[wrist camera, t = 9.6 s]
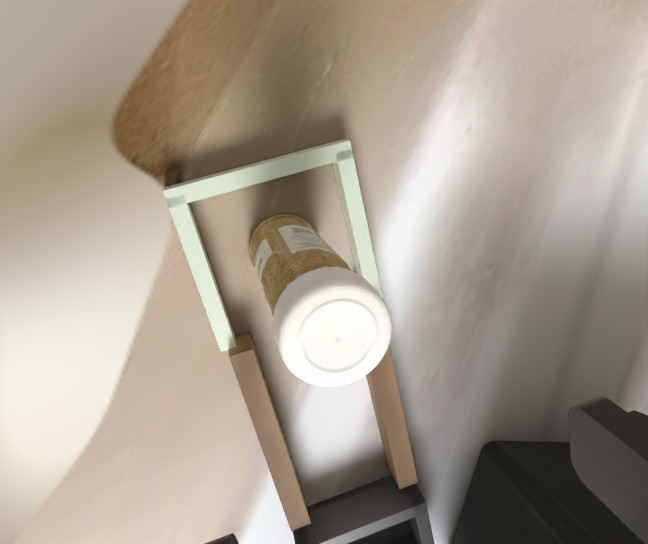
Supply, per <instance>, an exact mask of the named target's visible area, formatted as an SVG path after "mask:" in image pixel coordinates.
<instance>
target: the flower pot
mask: <svg viewBox="0 0 648 544" xmlns="http://www.w3.org/2000/svg"><path fill="white" fill-rule="evenodd" d="M453 544H645V543H644V542H643V541H642V540H641V539H639V538H638V537H637V536H636V535H635V534H634V533H633V532H632V531H631V530H630V529H629V528H628V527H627V526H626V525H625V524H624V523H623V522H622V521H621V520H620V519H619V518H618V517H617V516H616V515H615V514H614V513H613V512H612V511H611V510H610V509H609V508H608V507H607V506H606V505H605V504H604V503H603V502H602V501H601V500H600V499H599V498H598V497H597V496H596V495H595V494H594V493H593V492H592V491H591V490H590V489H589V488H588V487H587V486H586V485H585V484H584V483H583V482H582V481H581V479H580V478H579V476H578V475H577V473H576V471H575V469H574V467H573V464H572V460H571V451H570V443H563V442H516V441H492V442H490V443H488V444H487V445H486V446H485V447H484V448H483V449H482V451H481V454H480V458H479V461H478V464H477V467H476V470H475V474H474V477H473V480H472V483H471V486H470V489H469V492H468V495H467V499H466V502H465V505H464V509H463V512H462V515H461V518H460V521H459V525H458V528H457V531H456V534H455V537H454V541H453Z"/></svg>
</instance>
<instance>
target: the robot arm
mask: <svg viewBox="0 0 648 544" xmlns="http://www.w3.org/2000/svg"><path fill="white" fill-rule="evenodd" d="M568 419H569V435H570V451H571V460H572V464H573V467H574V469H575V471H576V473H577V475H578V476H579V478H580V479H581V481H582V482H583V483H584V484H585V485H586V486H587V487H588V488H589V489H590V490H591V491H592V492H593V493H594V494H595V495H596V496H597V497H598V498H599V499H600V500H601V501H602V502H603V503H604V504H605V505H606V506H607V507H608V508H609V509H610V510H611V511H612V512H613V513H614V514H615V515H616V516H617V517H618V518H619V519H620V520H621V521H622V522H623V523H624V524H625V525H626V526H627V527H628V528H629V529H630V530H631V531H632V532H633V533H634V534H635V535H636V536H637V537H638V538H639V539H641V540H642V541H643V542H644V543H645V544H648V416H647V415H645V414H642V413H639V412H637V411H631V412H629V413H627V412H626V411H624V410H623V409H622V408H620V407H619V406H617V405H616V404H615V403H613V402H612V401H610V400H609V399H607V398H604V397H598V398H595V399H593V400H590V401H587V402H585V403H582V404H580V405H577V406H574V407H572V408H570V410H569V413H568ZM205 544H238V541H237V539H236V537H235V535H234V534H233V533H232V534H229V535H227V536H224V537H221V538H219V539H216V540H213V541H211V542H208V543H205Z"/></svg>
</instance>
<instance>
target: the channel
mask: <svg viewBox="0 0 648 544" xmlns="http://www.w3.org/2000/svg"><path fill="white" fill-rule="evenodd" d="M235 340H236V347H234V348H231V349H229V357H230V360H231V363H232V366H233V369H234V371H235V374H236V377H237V380H238V383H239V385H240V388H241V391H242V394H243V397H244V399H245V402H246V405H247V408H248V411H249V413H250V416H251V419H252V422H253V425H254V428H255V430H256V433H257V436H258V439H259V442H260V444H261V447H262V450H263V453H264V456H265V458H266V461H267V464H268V467H269V470H270V472H271V475H272V478H273V481H274V484H275V487H276V489H277V492H278V495H279V498H280V501H281V503H282V506H283V509H284V512H285V515H286V517H287V520H288V523H289V526H290V529H291V531H293V530H295V529H298V528H300V527H303V526H306V525H308V524H311V522H310V518H309V514H308V510H307V506H306V502H305V498H304V495H303V492H302V489H301V486H300V483H299V480H298V477H297V474H296V471H295V468H294V465H293V462H292V459H291V456H290V452H289V449H288V446H287V443H286V440H285V437H284V434H283V431H282V428H281V425H280V422H279V419H278V416H277V413H276V410H275V407H274V404H273V401H272V398H271V395H270V392H269V389H268V386H267V383H266V380H265V377H264V374H263V371H262V368H261V365H260V362H259V359H258V356H257V353H256V350H255V347H254V344H253V341H252V337H251V334H250V332H248V333H245V334H242V335H239V336H236V337H235ZM366 376H367V381H368V385H369V389H370V393H371V397H372V402H373V406H374V410H375V414H376V418H377V423H378V427H379V431H380V435H381V439H382V444H383V448H384V452H385V456H386V460H387V465H388V468H389V470H390V472H391V473H392V475H393V477H394V479H395V481H396V483H397V485H398V487H399V489H402V488H405V487H407V486H410V485H413V484H415V483H418V480H417V475H416V470H415V465H414V461H413V456H412V451H411V446H410V442H409V437H408V432H407V427H406V423H405V418H404V413H403V409H402V404H401V399H400V394H399V390H398V385H397V380H396V375H395V371H394V366H393V361H392V356H391V352H390V347H389V346H388V348H387V351H386V353H385V355H384V356H383V358H382V359H381V361H380V362H379V363H378V365H377V366H376V367H375V368H374V369H373V370H372V371H370V372H369V373H368V374H367V375H366Z"/></svg>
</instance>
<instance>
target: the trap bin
mask: <svg viewBox="0 0 648 544" xmlns="http://www.w3.org/2000/svg"><path fill="white" fill-rule="evenodd" d="M307 510H308V514H309V518H310V522H311V524H308V525H306V526H303V527H300V528H298V529H295V530H293V534H294V539H295V544H434V539H433V535H432V530H431V525H430V520H429V515H428V511H427V506H426V502H425V500H424V498H423V496H422V495H421V493H420V491H419V489H418V487H417V486H416V484H413V485H410V486H407V487H405V488H402V489H399V487H398V485H397V483H396V481H395V479H394V477H393V475H392V476H389V477H386V478H384V479H381V480H378V481H376V482H373V483H370V484H368V485H365V486H362V487H360V488H357V489H355V490H352V491H349V492H347V493H344V494H341V495H339V496H336V497H333V498H331V499H328V500H325V501H323V502H320V503H318V504H315V505H312V506H310V507H307Z"/></svg>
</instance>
